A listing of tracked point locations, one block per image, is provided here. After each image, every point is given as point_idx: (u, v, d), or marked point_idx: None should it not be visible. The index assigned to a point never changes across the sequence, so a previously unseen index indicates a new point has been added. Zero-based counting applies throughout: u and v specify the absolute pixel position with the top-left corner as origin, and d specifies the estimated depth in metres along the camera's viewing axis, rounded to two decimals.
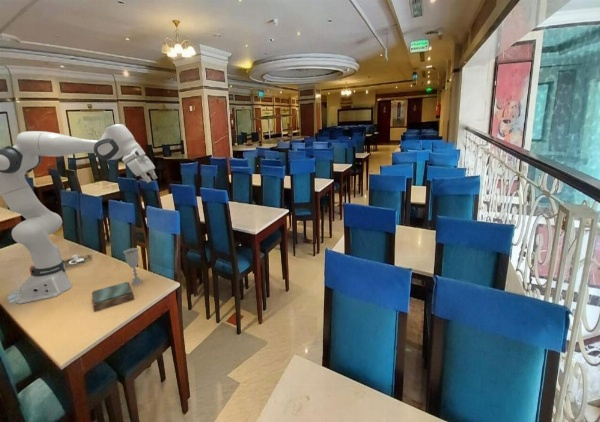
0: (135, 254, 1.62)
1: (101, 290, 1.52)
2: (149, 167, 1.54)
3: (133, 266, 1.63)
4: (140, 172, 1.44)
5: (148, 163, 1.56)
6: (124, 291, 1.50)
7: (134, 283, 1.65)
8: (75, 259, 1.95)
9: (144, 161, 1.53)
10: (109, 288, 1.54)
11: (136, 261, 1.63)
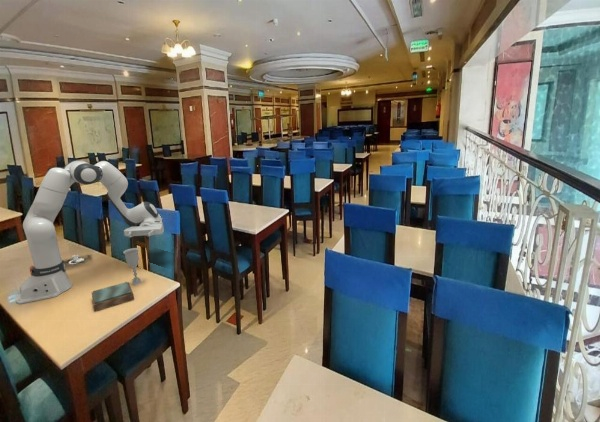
0: (135, 254, 1.62)
1: (101, 290, 1.52)
2: None
3: (133, 266, 1.63)
4: (161, 232, 1.79)
5: None
6: (124, 291, 1.50)
7: (134, 283, 1.65)
8: (75, 259, 1.95)
9: None
10: (109, 288, 1.54)
11: (136, 261, 1.63)
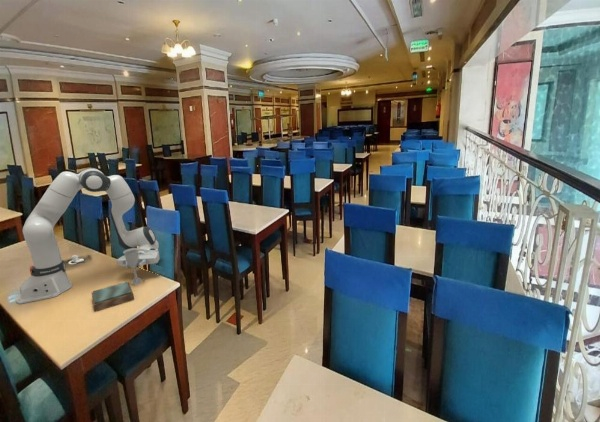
0: (135, 254, 1.62)
1: (101, 290, 1.52)
2: None
3: (133, 266, 1.63)
4: (156, 261, 1.70)
5: None
6: (124, 291, 1.50)
7: (134, 283, 1.65)
8: (75, 259, 1.95)
9: None
10: (109, 288, 1.54)
11: (136, 261, 1.63)
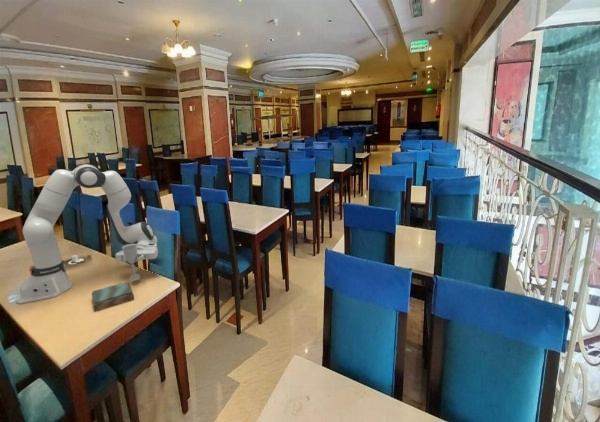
0: (134, 250, 1.61)
1: (101, 290, 1.52)
2: None
3: (131, 262, 1.62)
4: (154, 256, 1.69)
5: None
6: (124, 291, 1.50)
7: (132, 278, 1.64)
8: (75, 259, 1.95)
9: None
10: (109, 288, 1.54)
11: (134, 257, 1.62)
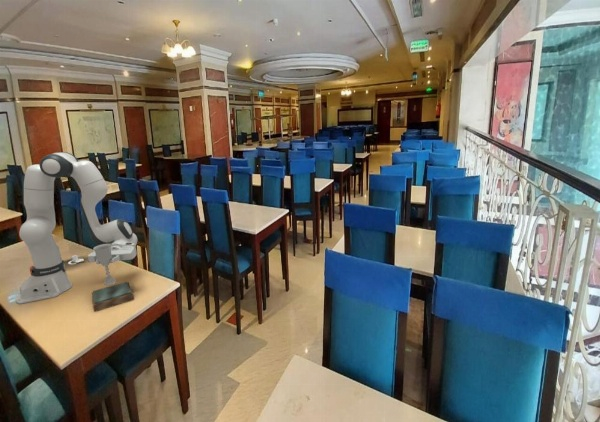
0: (107, 250, 1.44)
1: (101, 290, 1.52)
2: None
3: (105, 264, 1.45)
4: (131, 257, 1.52)
5: None
6: (124, 291, 1.50)
7: (106, 283, 1.47)
8: (74, 259, 1.95)
9: None
10: (109, 288, 1.54)
11: (108, 258, 1.45)
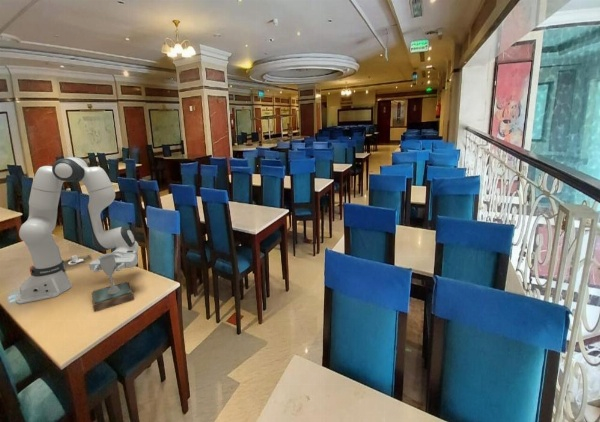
0: (111, 260, 1.45)
1: (101, 290, 1.52)
2: None
3: (109, 273, 1.47)
4: (133, 265, 1.53)
5: None
6: (124, 291, 1.50)
7: (110, 292, 1.49)
8: (74, 259, 1.95)
9: None
10: None
11: (113, 268, 1.47)
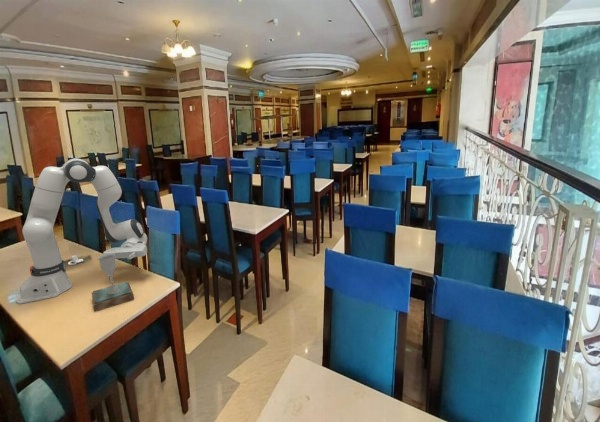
0: (111, 260, 1.45)
1: (101, 290, 1.52)
2: None
3: (109, 273, 1.47)
4: (143, 254, 1.65)
5: None
6: (124, 291, 1.50)
7: (110, 292, 1.49)
8: (74, 260, 1.94)
9: None
10: None
11: (112, 268, 1.47)
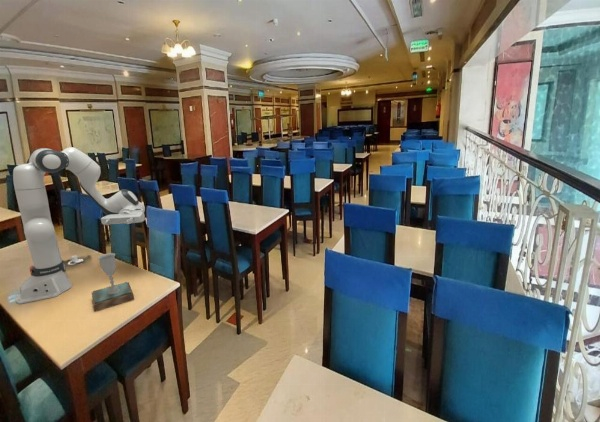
0: (111, 260, 1.45)
1: (101, 290, 1.52)
2: None
3: (109, 273, 1.47)
4: (141, 220, 1.68)
5: None
6: (124, 291, 1.50)
7: (110, 292, 1.49)
8: (74, 260, 1.94)
9: None
10: None
11: (112, 268, 1.47)
